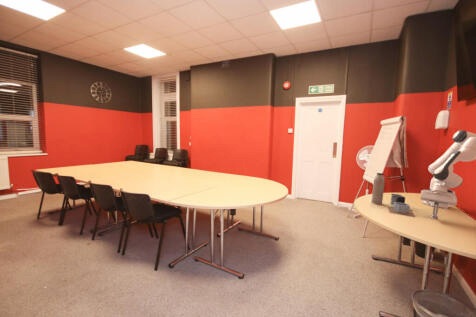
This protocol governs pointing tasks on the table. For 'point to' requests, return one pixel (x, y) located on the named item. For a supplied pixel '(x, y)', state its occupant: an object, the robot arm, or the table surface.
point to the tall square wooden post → (434, 211)
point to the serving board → (401, 213)
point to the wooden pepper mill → (378, 189)
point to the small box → (397, 199)
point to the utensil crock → (401, 207)
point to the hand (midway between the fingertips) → (437, 207)
